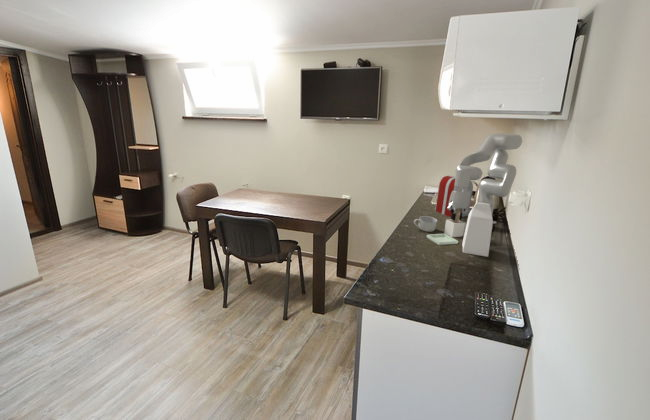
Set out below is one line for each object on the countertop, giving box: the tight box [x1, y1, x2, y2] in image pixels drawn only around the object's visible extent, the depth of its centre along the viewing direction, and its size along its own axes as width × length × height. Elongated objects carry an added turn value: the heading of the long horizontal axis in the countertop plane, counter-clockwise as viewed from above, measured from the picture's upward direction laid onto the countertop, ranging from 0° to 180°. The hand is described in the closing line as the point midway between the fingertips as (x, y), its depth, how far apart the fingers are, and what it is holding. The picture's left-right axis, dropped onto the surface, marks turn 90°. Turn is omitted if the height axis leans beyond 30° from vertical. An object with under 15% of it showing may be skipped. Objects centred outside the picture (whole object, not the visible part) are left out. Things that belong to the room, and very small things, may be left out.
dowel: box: [452, 209, 461, 223], centre depth 191 cm, size 4×4×16 cm
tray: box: [426, 233, 459, 246], centre depth 183 cm, size 12×12×2 cm
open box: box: [443, 218, 466, 238], centre depth 192 cm, size 8×8×9 cm
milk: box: [461, 202, 494, 258], centre depth 168 cm, size 12×12×26 cm
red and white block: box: [434, 175, 474, 218], centre depth 236 cm, size 17×18×27 cm
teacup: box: [413, 215, 438, 233], centre depth 198 cm, size 14×11×8 cm
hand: (455, 219), depth 190 cm, fingers closed on dowel, 3 cm apart
